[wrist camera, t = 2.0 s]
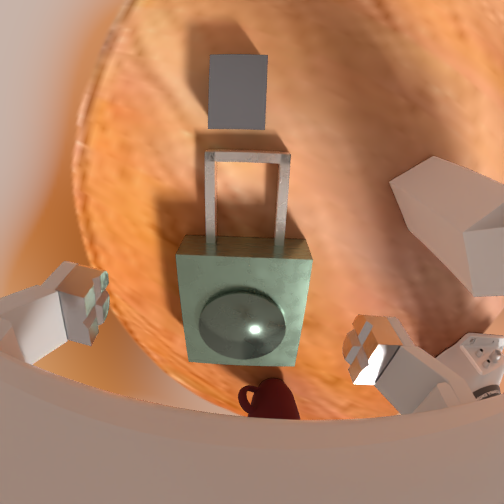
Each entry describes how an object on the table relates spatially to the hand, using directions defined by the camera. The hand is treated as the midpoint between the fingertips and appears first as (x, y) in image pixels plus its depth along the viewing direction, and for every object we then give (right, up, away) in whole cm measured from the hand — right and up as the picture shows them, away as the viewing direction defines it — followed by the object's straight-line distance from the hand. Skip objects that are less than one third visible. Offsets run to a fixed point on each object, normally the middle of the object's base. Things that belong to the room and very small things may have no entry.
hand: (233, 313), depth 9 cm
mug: (+3, -20, +37) cm, 42 cm away
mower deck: (0, +1, +27) cm, 27 cm away
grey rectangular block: (-1, +18, +18) cm, 26 cm away
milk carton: (+21, +9, +22) cm, 32 cm away
